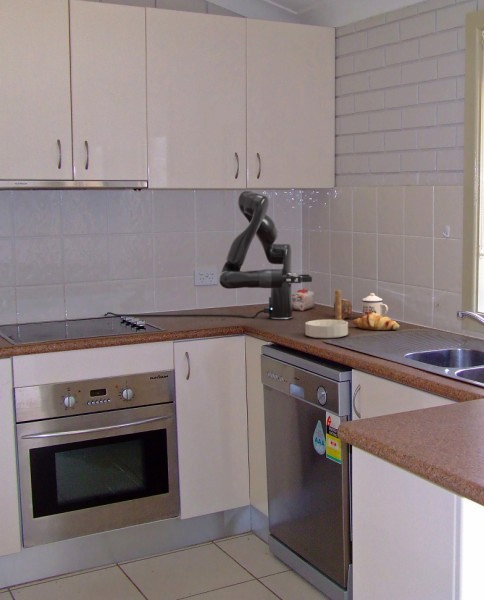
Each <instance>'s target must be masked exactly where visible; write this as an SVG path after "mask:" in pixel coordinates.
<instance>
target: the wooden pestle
mask: <svg viewBox="0 0 484 600" xmlns="http://www.w3.org/2000/svg"><path fill="white" fill-rule="evenodd" d="M341 299H342V290H341V289H335V290H334V303H335V313H334V319H333V320H342V321H345V320H344V319H342V318H341Z"/></svg>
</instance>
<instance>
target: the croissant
mask: <svg viewBox="0 0 484 600" xmlns="http://www.w3.org/2000/svg"><path fill="white" fill-rule="evenodd" d="M351 322H352V324H353V325H355V326H356V327H357V328H359V329H364V330H368V331H369V330H370V331H390V330H398V329H400V324H399V323H397V322H396V320H393V319H391V318H390V316H386V315H382V316H381V315H380V314H378V313H373V312H372V313H370V314H369V315H368V316H364V317H363V316H362V317H357V318H356V319H351Z"/></svg>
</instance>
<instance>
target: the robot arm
mask: <svg viewBox="0 0 484 600" xmlns="http://www.w3.org/2000/svg"><path fill="white" fill-rule="evenodd" d="M237 206H238V209H239V211H240V212H241V214H242V215H243V216H244V217H245V218H246V220H247V222H248V225H247V226H246V227H245V228H244V230H242V231H241V232H240V233H239V234H238V235H236V236H235V238H234V239H233V240H232V242H231V243H230V246H229V249H228V252H227V255H226V258H225V262H224V265H223V267H222V269H221V271H220V274H219V277H218V283H219V284H220V286H221V287H222V288H224V289H227V290H228V289H230V290H232V289H233V290H234V289H243V288H245V289H247V288H248V289H259V288H260V289H270V296H269V297H268V306H267V307H264V308H263V309H262V310H259V311H256V313H255V315H253V316H246V315H242V314H218V313H217V314H214V313H213V314H210V313H209V314H207V313H205V314H203V313H201V314H200V313H199V314H195V313H193V314H191V313H190V314H189V313H188V314H184V313H183V314H121V313H120V314H119V313H113V312H110V311H109V312H106V313H107V314H106V313H105V314H103V316H104V317H106V316H107V315H112V316H114V317H147V318H148V317H151V318H152V317H153V318H154V317H158V318H159V317H228V318H229V317H233V318H243V319H255V318H257V316H258V315H259V314H261V313H263V314H268V319H271V320H275V321H277V320H279V321H280V320H281V321H283V320H291V319H293V311H294V310H293V309H292V295H293V291H292V290H293V287H292V286H293V284H294V285H295V284H302V283H312V282H313V277H312V276H311V275H310V274H306V273H305V274H300V273H295V272H293V248H292V245H291V244H290V243H285V242H281V243H280V242H278V243H277V242H276V240H277V239H278V237H279V229H278V227H277V225H276V222H275V221H274V220H273V219H272V217H271V216H270V215H268V214H267V213H268V210H269V207H270V199H269V197H268V195H265V194H263V193H259V192H257V191H254V190H249V189H246V190H243V191H242V192H241V193H240V194H239V196H238V198H237ZM255 236H256V238H257V239H258V241H259V243H260V245H261V247H262V250H263V252H264V255H265V258H266V260H267V261H268V263H269V264H271V265H282V268H267V269H266V268H265V269H264V268H263V269H249V270H248V269H247V270H243V271H242V270H241V269H242V266H243V265H244V264H245V263H244V262H245V260H246V257H247V254H248V251H249V248H250V246H251V243H252V242H253V240H254V238H255ZM275 242H276V243H275ZM292 272H293V273H292Z"/></svg>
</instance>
